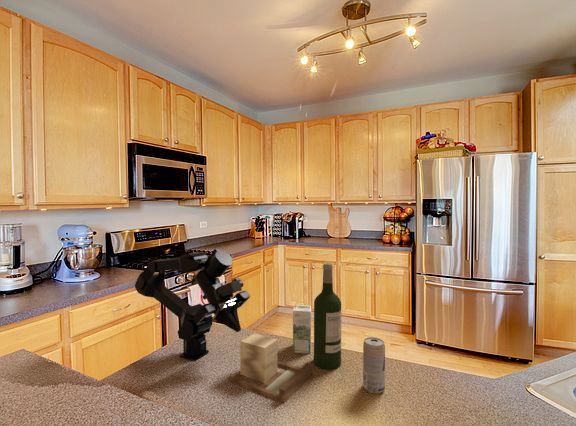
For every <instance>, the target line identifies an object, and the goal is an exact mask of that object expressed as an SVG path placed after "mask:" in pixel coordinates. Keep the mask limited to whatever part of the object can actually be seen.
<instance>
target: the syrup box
mask: <svg viewBox="0 0 576 426" xmlns="http://www.w3.org/2000/svg"><path fill="white" fill-rule="evenodd" d="M311 352H312V306H311V305H304V304H303V305H302V304H300V305H299V304H298V305H297V304H294V306H293V308H292V353H299V354H311Z"/></svg>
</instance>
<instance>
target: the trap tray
mask: <svg viewBox="0 0 576 426" xmlns="http://www.w3.org/2000/svg"><path fill="white" fill-rule="evenodd" d="M277 367H280V368H283V369H286V370H285V371H284V372H279V371H277V373H276V374H275V375H274V376H273V377H271V378H270V379H269V380H268V381H267V382H265V383H263V382H260V381H257V380H254V379H252V378H249V377H246V376H243V375H241V374H240V371H239V372H237V373H235V374H234V375H233V376H232V375H228V377H227V379H226V380H227V382H230V383H233V384H235V385H238V386H241V387H243V388H245V389H248V390H250V391H253V392H256V393H258V394H261V395H263V396H267V397H269V398H270V399H273V400H276V401H279V402H281V403H284V404H285V403H286V402H287V401H288V400H289V399H290V398H291V397H292V396H293V395H294V394H295V393H296V392H297V391H298V390H299V389H300V388H301V387H302V386H303V385H304V383H306V381H308V379H309V378H310V377H311V376H312V375H313V363H309V362H306V363H305V364H304V365H303V366H302V367H299V366H295V365H293V364H289V363H286V362H284V361H280V360H277ZM245 378H248V379H250V380H252V381H256V382H257V383H256V384H254V383H252V382H248V381H246V380H244V379H245Z"/></svg>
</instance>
